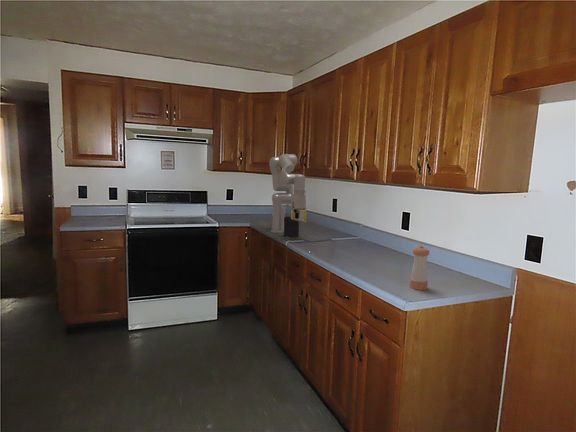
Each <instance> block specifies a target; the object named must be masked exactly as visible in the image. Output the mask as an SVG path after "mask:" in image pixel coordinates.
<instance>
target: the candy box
mask: <svg viewBox="0 0 576 432" xmlns="http://www.w3.org/2000/svg"><path fill="white" fill-rule="evenodd" d="M294 209H295V208H294ZM290 211H291V212H290V213H291V214H290V217H291V219H292V220H297V221H299V222H301V223H307V209H305V210H301V209H298V213H299V218H298V219H296V218H295V212H294V211H293V210H291V209H290Z"/></svg>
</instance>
